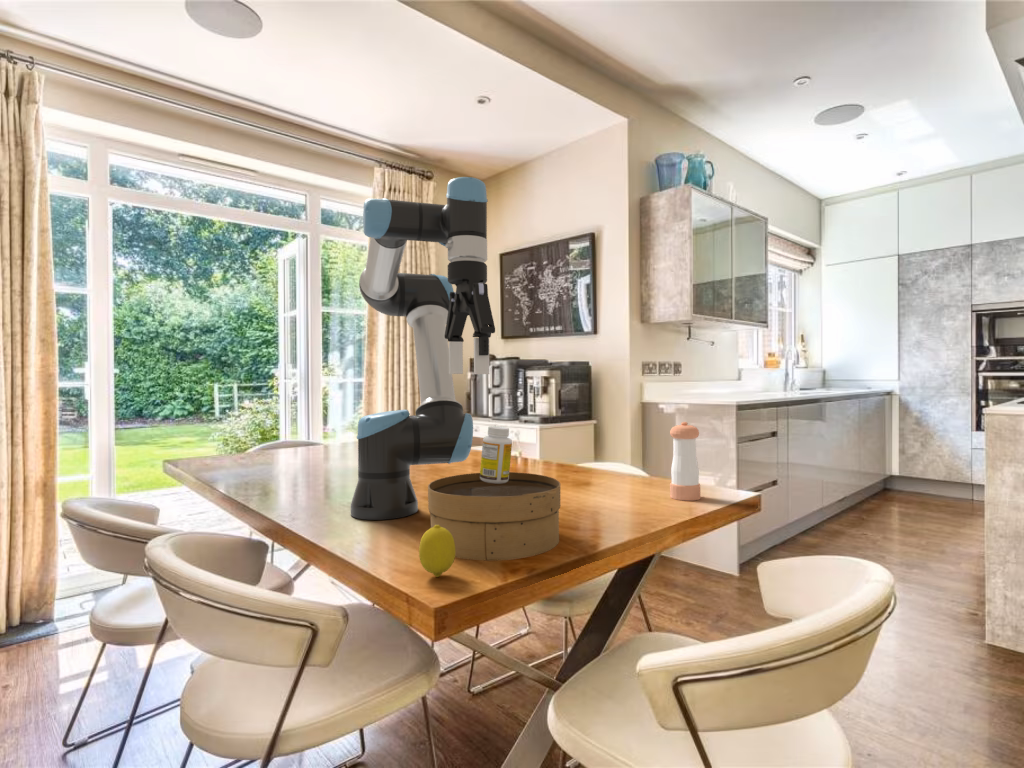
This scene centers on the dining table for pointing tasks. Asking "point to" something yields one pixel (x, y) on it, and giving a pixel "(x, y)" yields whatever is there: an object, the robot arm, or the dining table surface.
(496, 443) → the supplement bottle
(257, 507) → the dining table surface
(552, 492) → the steamer basket
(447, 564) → the lemon
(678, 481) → the pepper shaker
